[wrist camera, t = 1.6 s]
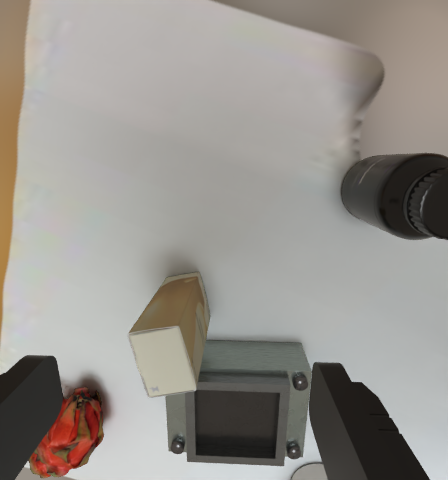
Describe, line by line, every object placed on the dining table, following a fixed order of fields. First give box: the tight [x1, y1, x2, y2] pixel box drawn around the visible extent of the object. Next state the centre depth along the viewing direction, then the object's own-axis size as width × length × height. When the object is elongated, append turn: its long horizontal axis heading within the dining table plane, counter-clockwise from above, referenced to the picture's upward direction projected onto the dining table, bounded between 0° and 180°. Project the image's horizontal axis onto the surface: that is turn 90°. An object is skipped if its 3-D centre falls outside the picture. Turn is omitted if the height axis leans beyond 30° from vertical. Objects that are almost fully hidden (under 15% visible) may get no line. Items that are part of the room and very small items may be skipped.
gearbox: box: [166, 340, 312, 466], centre depth 33 cm, size 16×12×6 cm
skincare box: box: [128, 272, 210, 398], centre depth 28 cm, size 6×4×12 cm
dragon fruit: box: [28, 387, 104, 478], centre depth 35 cm, size 8×8×12 cm
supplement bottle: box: [342, 153, 448, 240], centre depth 24 cm, size 7×7×12 cm
